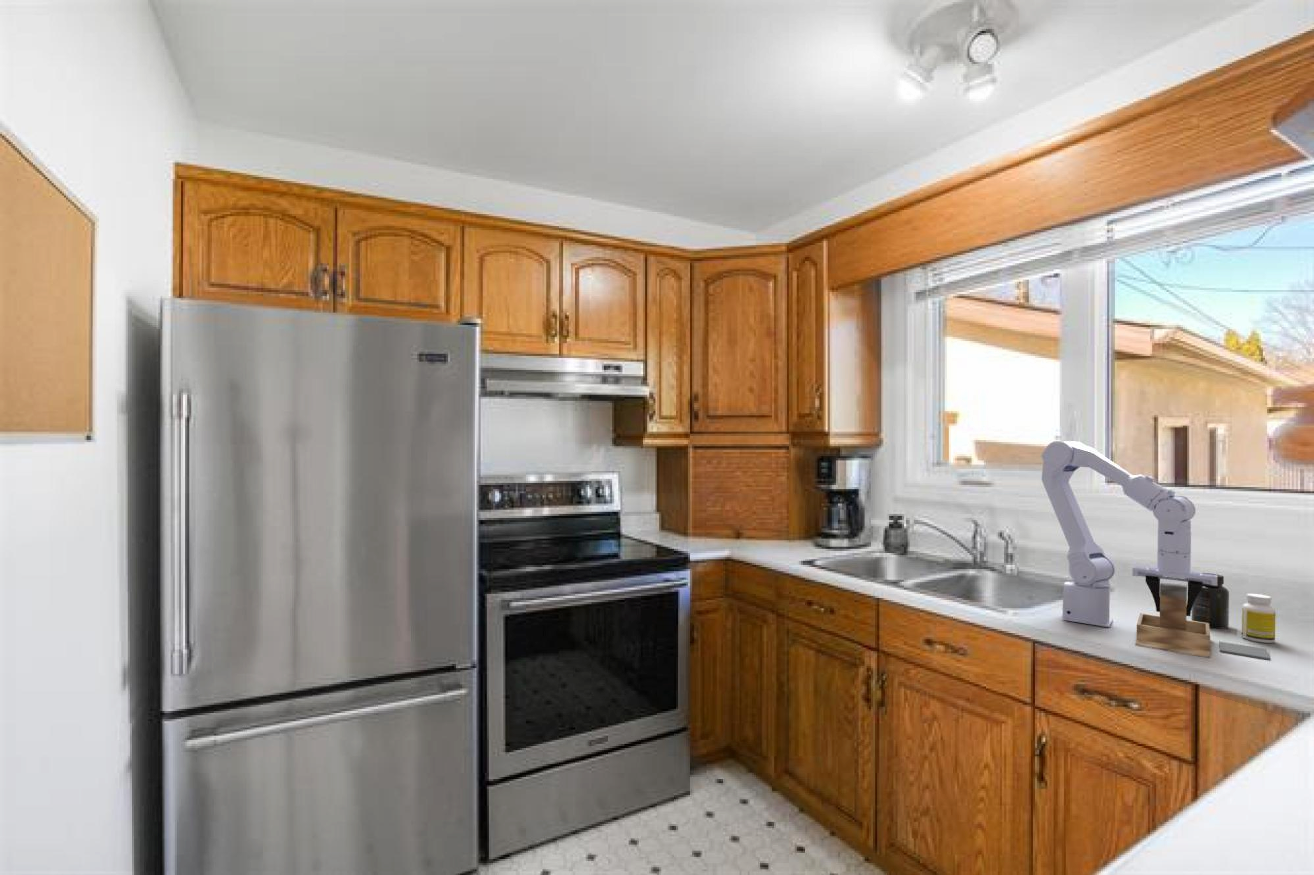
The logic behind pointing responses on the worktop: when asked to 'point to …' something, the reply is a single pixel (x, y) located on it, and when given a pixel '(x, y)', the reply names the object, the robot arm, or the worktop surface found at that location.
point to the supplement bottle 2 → (1258, 619)
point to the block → (1173, 606)
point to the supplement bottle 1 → (1212, 605)
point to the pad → (1244, 650)
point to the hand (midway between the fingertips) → (1173, 613)
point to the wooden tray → (1174, 636)
